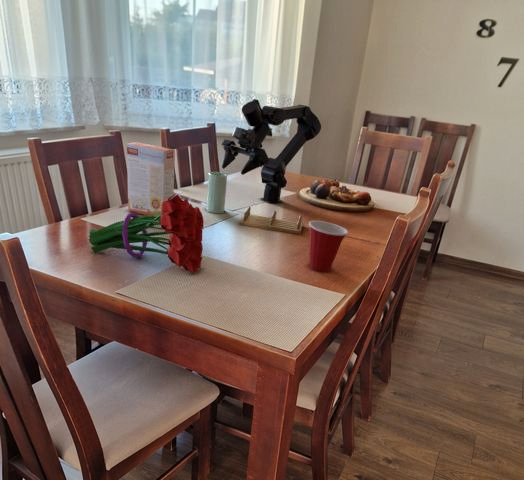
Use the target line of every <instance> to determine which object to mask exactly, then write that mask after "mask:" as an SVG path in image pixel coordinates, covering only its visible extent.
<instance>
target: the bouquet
mask: <svg viewBox="0 0 524 480" xmlns="http://www.w3.org/2000/svg"><path fill="white" fill-rule="evenodd" d="M172 197H173V196H171V197H170V198H168V199H167V200H165V201H163V202H162V212H161V213H162V214H160V215H159V216H152V215H139V214H138V213H136V212H129V213H127V214H126V215H125V217H124V220H120V221H116V222H114V223H112V224H109V225H107V226H104V227H102V228H100V229H90V230H89V235H88V237H89V238H88V241H89V243H90V244H91V247H90V249H91V250H92V251H93V253H94V254H96V253H99V252H102V251H105V250H108V249H119V250H126V252H127V254H129V255H130V256H131V257H132V258H141V257H142V256H143V255H144V254H145V252H147V253H149V252H151V253H156V254H157V253H158V254H162V255H167V258H168V260H169V261H170V262H171V263H172V264H174V265H176V266H177V267H179V268H183V269H184V271H187V272H188V273H191V274H193V275H195V274H196V273H197V272H199V270H200V269H201V268H202V261H203V256H202V254H203V249H204V248H203V242H202V241H203V229H204V224H205V223H204V222H205V221H204V216H203V213H202V211H201V209H200V207H198V206H195V207H194V206H193V204H192V203H190V202H189V200H188V198H186V197H183V198H181V196H180V195H179V194H176V195H174V197H173V198H172ZM171 198H172V199H171ZM170 199H171V200H170ZM148 229H154V230H161V231H154V232H153V231H152V232H148ZM163 235H169V238H166V237H163ZM150 242H151V243H153V244H154V245H156V246H159V248H162V249H164V250H162V249H159V248H154V247H147V245H148V243H150ZM136 243H137V244H139V243H141V246H140V245H133V244H136ZM164 245H166V246H169V247H168V248H167V247H166V246H164ZM134 251H137V252H134Z"/></svg>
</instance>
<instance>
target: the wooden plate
mask: <svg viewBox="0 0 524 480" xmlns="http://www.w3.org/2000/svg"><path fill="white" fill-rule="evenodd" d="M298 195H299V197H300V198H301V199H302V201H304V202H306V203H308V204H309V203H310V204H312V205H314V206H317V207H321V208H325V209H330V210H334V211H341V212H342V211H343V212H357V213H358V212H367V211H370V210H372V209H373V208H374V207H375V201H374V200H372V196H371V195H370V193H369V192H368V191H360V190H353V189H350V188H348V187H347V186H346V185H342V186H340V181H339V180H338V179H336V178H334V179H332V180H329V179H323V180H320V179H316V180H314V181H313V182H312V183H310V186H309V187H304V188H302V189H300V191H299V193H298Z"/></svg>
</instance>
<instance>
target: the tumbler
mask: <svg viewBox="0 0 524 480" xmlns="http://www.w3.org/2000/svg"><path fill="white" fill-rule="evenodd" d="M207 180H208V181H207V196H206V198H207V199H206V212H209V213H212V214H223V213H225V207H226V206H225V205H226V193H227V184H228V183H227V182H228V174H226V173H224V172H221V171H211V172H210V171H209V172H208V179H207Z"/></svg>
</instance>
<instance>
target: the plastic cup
mask: <svg viewBox="0 0 524 480" xmlns="http://www.w3.org/2000/svg"><path fill="white" fill-rule="evenodd" d="M308 225H309V251H308V252H309V253H308V255H309V268H310V269H312V270H314V271H317V272H323V273H325V272H329V271H330V270H331V268H332V266H333V263H334V261H335V259H336V257H337V254H338V251H339V249H340V247H341V245H342V242H343V240H344V238H345V237H346V236H347V235H348V233H349V231H348V230H347V228H345V227H343V226H340V225H338V224H335V223H332V222H328V221H323V220H309V222H308Z"/></svg>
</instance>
